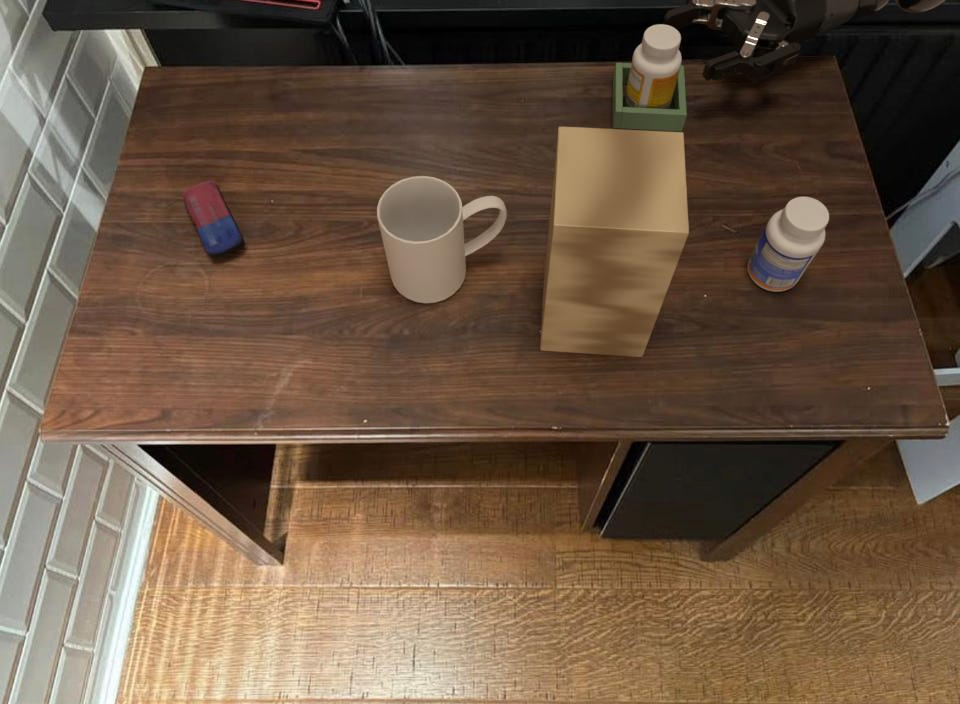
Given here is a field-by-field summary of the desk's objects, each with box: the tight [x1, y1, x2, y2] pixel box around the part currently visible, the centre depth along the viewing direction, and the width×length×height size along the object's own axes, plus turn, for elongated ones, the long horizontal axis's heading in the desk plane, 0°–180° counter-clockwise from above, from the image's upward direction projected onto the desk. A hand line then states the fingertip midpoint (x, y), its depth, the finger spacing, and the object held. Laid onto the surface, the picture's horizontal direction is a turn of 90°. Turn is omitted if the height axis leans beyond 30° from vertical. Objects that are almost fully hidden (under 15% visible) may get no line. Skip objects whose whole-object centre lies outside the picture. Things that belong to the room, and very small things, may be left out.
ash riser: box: [539, 126, 690, 358], centre depth 66 cm, size 10×10×20 cm
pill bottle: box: [746, 196, 830, 293], centre depth 72 cm, size 5×5×10 cm
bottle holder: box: [612, 62, 688, 132], centre depth 87 cm, size 8×8×3 cm
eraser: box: [182, 180, 246, 260], centre depth 80 cm, size 11×4×2 cm, turn 29°
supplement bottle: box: [623, 23, 683, 109], centre depth 84 cm, size 5×5×10 cm
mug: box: [376, 175, 508, 304], centre depth 73 cm, size 12×8×10 cm, turn 102°
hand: (684, 47), depth 83 cm, fingers open, 8 cm apart
